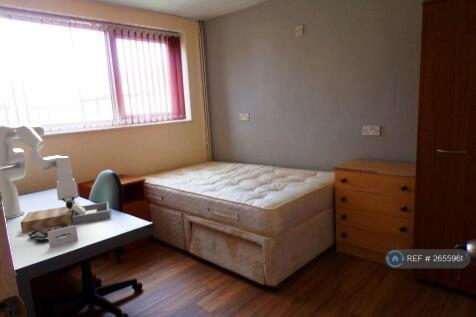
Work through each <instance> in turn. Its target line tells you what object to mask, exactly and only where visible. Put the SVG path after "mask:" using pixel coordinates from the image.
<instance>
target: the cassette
mask: <svg viewBox="0 0 476 317" xmlns="http://www.w3.org/2000/svg"><path fill="white" fill-rule="evenodd" d="M47 233H48V239H49V241H48V246H49V248H56V247H60V246H63V245H68V244H71V243H75V242H78V241H79V236H78V231H77V226H76V224H75V225H69V227H65V228H61V229H57V230H53V231H48V232H47ZM68 233H70V234H68ZM63 234H66V235H65V236H61V237H60V236H59V235H63ZM56 236H58V238H56Z"/></svg>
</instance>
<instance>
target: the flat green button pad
mask: <svg viewBox="0 0 476 317" xmlns="http://www.w3.org/2000/svg"><path fill="white" fill-rule="evenodd" d="M65 227H70V225H67V224H58V225H55V226H51V227H47V228H45V229H41V230H38V231H33V232H29V233H28V238H29V239H32V240H33V239H34V241H35V242H36V243H44V242H45V243H46V242H49V239H48V233H47V232H48V231H53V230H57V229H61V228H65ZM68 235H70V233H68ZM59 236H60V237H63V236H66V234H63V235H59ZM56 238H58V236H56Z"/></svg>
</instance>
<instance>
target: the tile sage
mask: <svg viewBox="0 0 476 317" xmlns="http://www.w3.org/2000/svg"><path fill="white" fill-rule="evenodd" d="M91 213H97V209H95V210H89V211H85V213H84V214H83V215H85V214H91Z"/></svg>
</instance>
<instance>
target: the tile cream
mask: <svg viewBox="0 0 476 317" xmlns="http://www.w3.org/2000/svg"><path fill="white" fill-rule="evenodd" d="M82 206H83V205H81V204H80V203H78V202H77V201H75V204H74V205H73V207H72V208H73V209H74V210H75V211H76V212H78V213H79V214H80V215H83V214H84V213H85V211H86V210H85V209H84V208H83V207H82Z"/></svg>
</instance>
